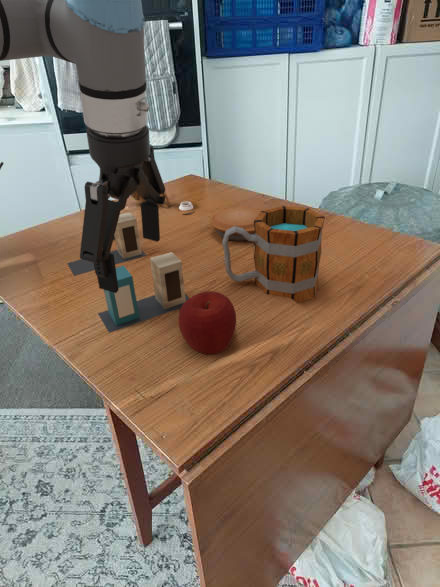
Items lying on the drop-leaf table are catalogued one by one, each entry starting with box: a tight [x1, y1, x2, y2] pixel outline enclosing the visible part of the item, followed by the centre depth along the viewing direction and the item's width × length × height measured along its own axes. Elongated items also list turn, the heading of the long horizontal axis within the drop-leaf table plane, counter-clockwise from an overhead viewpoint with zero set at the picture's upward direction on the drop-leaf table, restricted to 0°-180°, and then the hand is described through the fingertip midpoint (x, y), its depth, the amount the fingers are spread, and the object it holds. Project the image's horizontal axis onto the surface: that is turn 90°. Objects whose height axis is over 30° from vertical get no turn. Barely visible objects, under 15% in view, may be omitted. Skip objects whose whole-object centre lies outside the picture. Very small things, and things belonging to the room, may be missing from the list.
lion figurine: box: [129, 191, 172, 209], centre depth 125 cm, size 15×5×9 cm, turn 80°
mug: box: [221, 205, 326, 304], centre depth 85 cm, size 20×14×15 cm
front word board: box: [97, 293, 190, 334], centre depth 82 cm, size 7×17×2 cm, turn 119°
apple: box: [177, 291, 237, 355], centre depth 71 cm, size 10×10×10 cm
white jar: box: [178, 200, 196, 216], centre depth 124 cm, size 5×3×5 cm
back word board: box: [66, 249, 147, 277], centre depth 100 cm, size 7×17×2 cm, turn 119°
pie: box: [209, 206, 262, 242], centre depth 111 cm, size 15×16×5 cm
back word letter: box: [114, 211, 143, 259], centre depth 99 cm, size 5×4×9 cm
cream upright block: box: [149, 251, 186, 309], centre depth 81 cm, size 5×4×9 cm
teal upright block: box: [103, 265, 140, 325], centre depth 77 cm, size 5×4×9 cm
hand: (131, 262), depth 66 cm, fingers open, 13 cm apart
